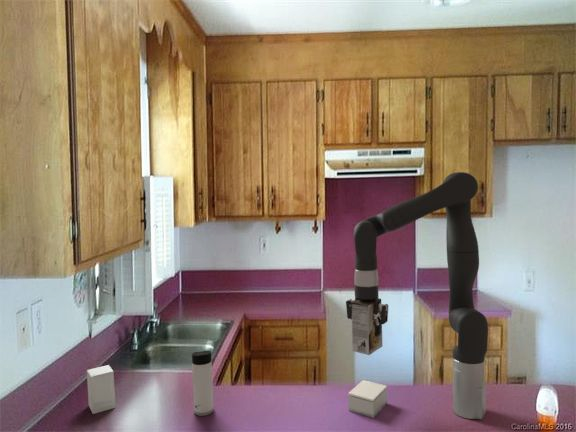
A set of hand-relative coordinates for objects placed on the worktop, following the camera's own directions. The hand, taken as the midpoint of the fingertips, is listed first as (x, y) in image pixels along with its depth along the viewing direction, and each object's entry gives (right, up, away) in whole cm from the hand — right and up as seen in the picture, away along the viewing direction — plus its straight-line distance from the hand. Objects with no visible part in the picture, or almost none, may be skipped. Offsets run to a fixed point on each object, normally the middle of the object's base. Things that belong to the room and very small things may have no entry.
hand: (367, 333), depth 142 cm
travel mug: (-53, -26, +2) cm, 59 cm away
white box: (+1, -24, +2) cm, 24 cm away
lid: (0, -19, +1) cm, 19 cm away
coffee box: (0, -5, 0) cm, 5 cm away
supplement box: (-88, -27, +7) cm, 93 cm away
